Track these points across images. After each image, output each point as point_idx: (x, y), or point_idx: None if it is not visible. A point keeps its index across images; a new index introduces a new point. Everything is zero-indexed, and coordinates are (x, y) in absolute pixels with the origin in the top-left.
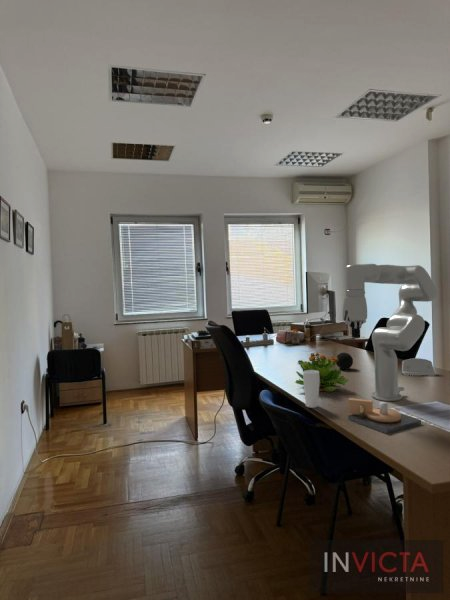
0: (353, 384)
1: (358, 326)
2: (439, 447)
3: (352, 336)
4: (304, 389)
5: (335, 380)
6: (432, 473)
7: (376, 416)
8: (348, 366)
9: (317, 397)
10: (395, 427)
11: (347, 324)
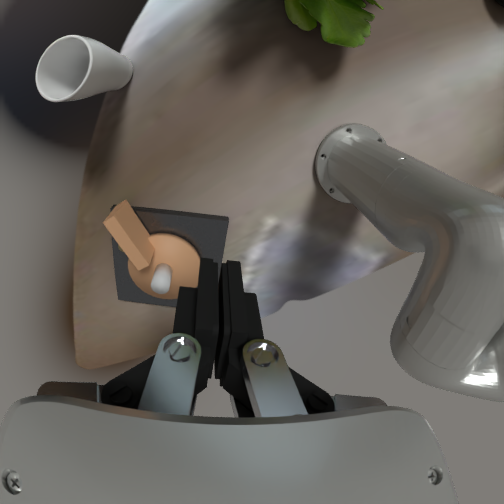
0: (411, 35)
1: (231, 395)
2: (149, 350)
3: (200, 267)
4: (76, 61)
5: (335, 4)
6: (89, 362)
7: (136, 271)
8: (499, 2)
9: (107, 91)
10: (141, 302)
11: (78, 383)
